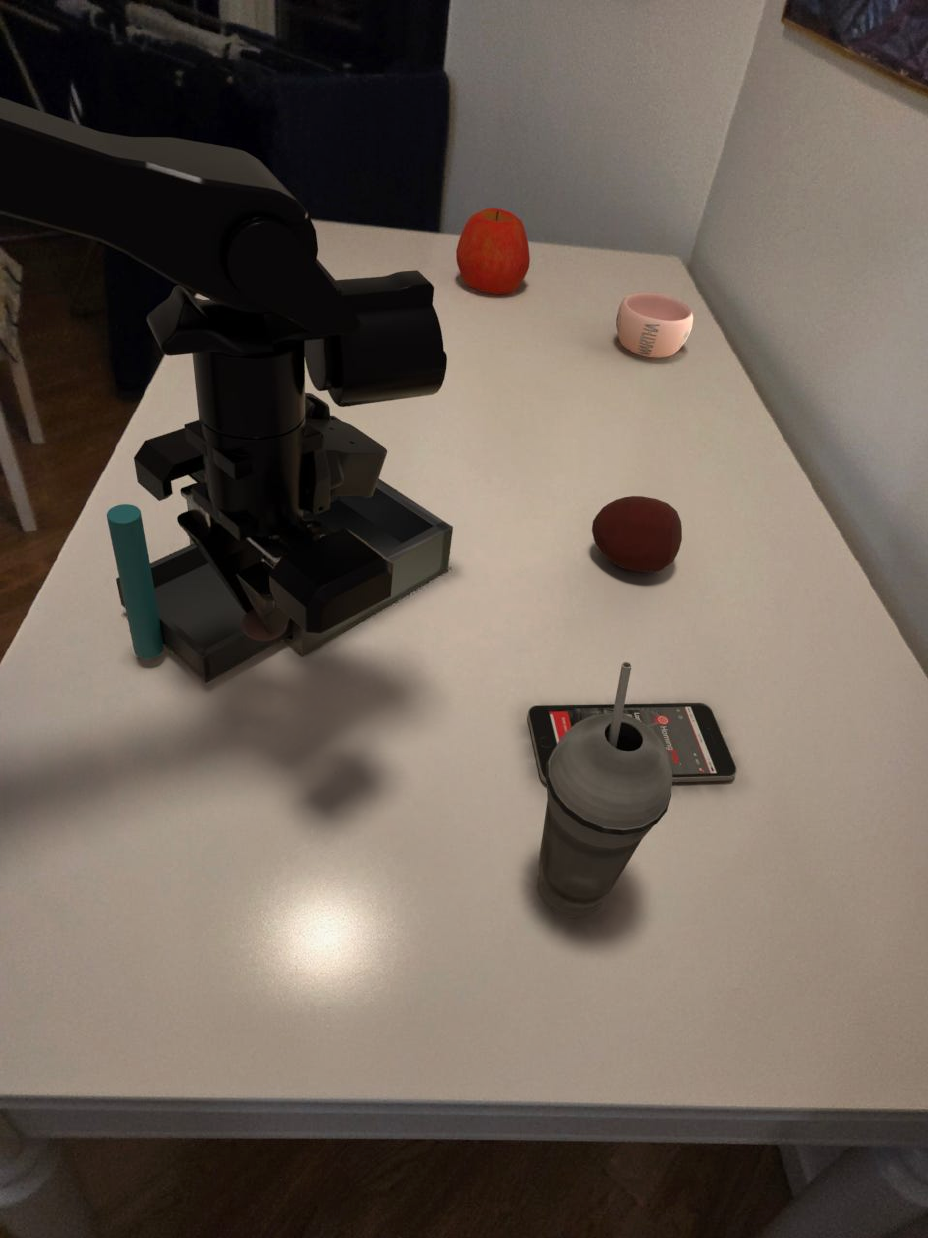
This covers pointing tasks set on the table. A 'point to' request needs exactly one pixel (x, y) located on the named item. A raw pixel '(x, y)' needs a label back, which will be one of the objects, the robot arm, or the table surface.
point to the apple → (493, 251)
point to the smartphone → (676, 724)
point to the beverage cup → (599, 805)
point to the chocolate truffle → (257, 627)
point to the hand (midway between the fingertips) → (263, 620)
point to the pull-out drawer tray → (384, 548)
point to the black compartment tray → (178, 603)
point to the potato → (638, 533)
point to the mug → (653, 324)
